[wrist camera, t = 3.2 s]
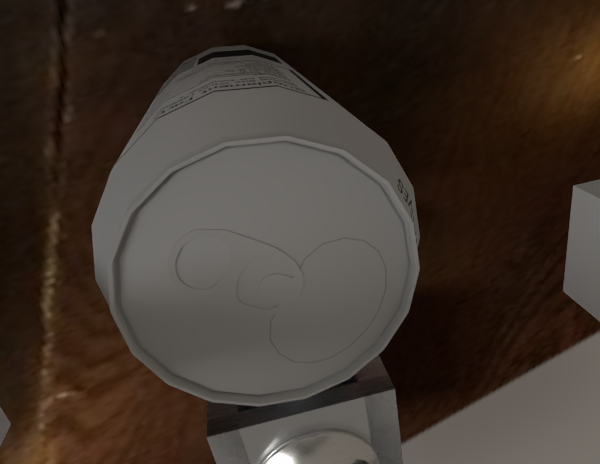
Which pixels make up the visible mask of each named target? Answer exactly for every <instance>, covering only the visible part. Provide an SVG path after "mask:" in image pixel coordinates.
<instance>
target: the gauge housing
mask: <svg viewBox="0 0 600 464" xmlns="http://www.w3.org/2000/svg"><path fill="white" fill-rule="evenodd" d="M207 440H208V442H209V445H210V448H211V451H212V453H213V456H214V459H215V461H216V464H403V461H402V451H401V441H400V431H399V422H398V412H397V403H396V393H395V388H394V386H393V384H392V381H391V379H390V377H389V375H388V373H387V371H386V369H385V367H384V365H383V363H382V360H381V358H380V356H379V354H378V355H377V356H376V357H375V358H374V359H372V360H371V361H370V362H369V363H368V364H366V365H365V366H364V367H363V368H362V369H360V370H359V371H358V372H357V373H356V374H354V375H353V376H352V377H351V378H350V379H348V380H346V381H344V382H341V383H339V384H337V385H335V386H333V387H330V388H328V389H326V390H324V391H322V392H319V393H317V394H315V395H313V396H311V397H308V398H306V399H301V400H295V401H289V402H283V403H277V404H271V405H266V406H260V407H258V406H247V405H237V404H226V403H215V402H210V401H208V400H207Z"/></svg>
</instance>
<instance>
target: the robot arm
mask: <svg viewBox="0 0 600 464" xmlns="http://www.w3.org/2000/svg"><path fill="white" fill-rule="evenodd" d="M563 291H564V292H565V293H566V294H567V295H568V296H570V297H571V298H572V299H573V300H574V301H576V302H577V303H578V304H579V305H580V306H582V307H583V308H584V309H585V310H587V311H588V312H589V313H590V314H591V315H593V316H594V317H595V318H596V319H597V320H599V321H600V180H596V181H591V182H587V183H582V184H578V185H573V194H572V204H571V215H570V225H569V235H568V245H567V255H566V266H565V276H564V286H563ZM10 425H11V423H10V422H9V420H8V419H7V417H6V415H5V414H4V412H3V411H2V409H1V407H0V445H1V443H2V441H3V439H4V437H5V435H6V433H7V431H8V429H9V427H10Z"/></svg>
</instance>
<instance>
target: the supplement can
mask: <svg viewBox="0 0 600 464" xmlns="http://www.w3.org/2000/svg"><path fill="white" fill-rule="evenodd" d="M419 239H420V234H419V226H418V219H417V211H416V203H415V196H414V188H413V186H412V184H411V183H410V181H409V179H408V178H407V176H406V174H405V172H404V171H403V169H402V167H401V165H400V164H399V162H398V160H397V158H396V157H395V155H394V153H393V152H392V150H391V148H390V146H389V145H388V143H387V142H386V141H385V140H384V139H382V138H381V137H380V136H379V135H377V134H376V133H375V132H374V131H372V130H371V129H370V128H368V127H367V126H366V125H365V124H363V123H362V122H361V121H360V120H358V119H357V118H356V117H354V116H353V115H352V114H351V113H349V112H348V111H347V110H346V109H344V108H343V107H342V106H340V105H339V104H338V103H337V102H335V101H334V100H333V99H332V98H330V97H329V96H328V95H326V94H325V93H324V92H323V91H321V90H320V89H319V88H318V87H316V86H315V85H314V84H313V83H311V82H310V81H309V80H307V79H306V78H305V77H304V76H302V75H301V74H300V73H299V72H297V71H296V70H295V69H293V68H292V67H291V66H289V65H288V64H287V63H285V62H284V61H283V60H282V59H280V58H279V57H278V56H276V55H275V54H273V53H269V52H266V51H263V50H259V49H256V48H253V47H249V46H246V45H237V46H224V47H212V48H210V49H208V50H206V51H204V52H202V53H200V54H198V55H196V56H194V57H192V58H190V59H188V60H186V61H184V62H183V63H182V64H181V65H180V66H179V67H178V68H177V70H176V71H175V72H174V73H173V74H172V75H171V76H170V77H169V78H168V79H167V81H166V82H165V83H164V84H163V85H162V87H161V89H160V90H159V92H158V94H157V95H156V97H155V99H154V100H153V102H152V104H151V105H150V107H149V109H148V110H147V112H146V114H145V115H144V117H143V119H142V120H141V122H140V124H139V125H138V127H137V129H136V130H135V132H134V134H133V135H132V137H131V139H130V140H129V142H128V144H127V145H126V147H125V149H124V150H123V152H122V154H121V155H120V157H119V159H118V160H117V162H116V164H115V165H114V167H113V169H112V170H111V173H110V176H109V178H108V181H107V184H106V187H105V190H104V192H103V195H102V198H101V201H100V204H99V206H98V209H97V212H96V215H95V217H94V220H93V223H92V240H93V253H94V267H95V280H96V282H97V284H98V286H99V287H100V289H101V291H102V293H103V295H104V297H105V299H106V301H107V303H108V305H109V307H110V312H111V314H112V316H113V318H114V320H115V322H116V324H117V326H118V328H119V330H120V332H121V334H122V335H123V337H124V339H125V341H126V343H127V345H128V347H129V349H130V351H131V353H132V354H133V355H134V356H135V357H136V358H137V359H139V360H140V361H141V362H142V363H143V364H144V365H146V366H147V367H148V368H149V369H150V370H151V371H153V372H154V373H155V374H156V375H157V376H158V377H160V378H161V379H162V380H163V381H164V382H165V383H167V384H168V385H170V386H173V387H175V388H178V389H180V390H183V391H185V392H188V393H190V394H193V395H195V396H198V397H200V398H203V399H205V400H208V401H210V402H215V403H226V404H237V405H247V406H258V407H260V406H266V405H271V404H277V403H283V402H289V401H295V400H301V399H306V398H308V397H311V396H313V395H315V394H317V393H319V392H322V391H324V390H326V389H328V388H330V387H333V386H335V385H337V384H339V383H341V382H344V381H346V380H348V379H350V378H351V377H352V376H353V375H354V374H356V373H357V372H358V371H359V370H360V369H362V368H363V367H364V366H365V365H366V364H368V363H369V362H370V361H371V360H372V359H374V358H375V357H376V356H377V355H378V354H380V353H381V352H382V351H383V350H384V349H385V348H386V346H387V345H388V343H389V342H390V340H391V338H392V337H393V335H394V334H395V332H396V331H397V329H398V328H399V326H400V325H401V323H402V322H403V320H404V319H405V317H406V316H407V314H408V313H409V310H410V306H411V302H412V298H413V294H414V290H415V286H416V282H417V278H418V274H419V270H420V266H419V259H418V252H417V249H418V244H419Z"/></svg>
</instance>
